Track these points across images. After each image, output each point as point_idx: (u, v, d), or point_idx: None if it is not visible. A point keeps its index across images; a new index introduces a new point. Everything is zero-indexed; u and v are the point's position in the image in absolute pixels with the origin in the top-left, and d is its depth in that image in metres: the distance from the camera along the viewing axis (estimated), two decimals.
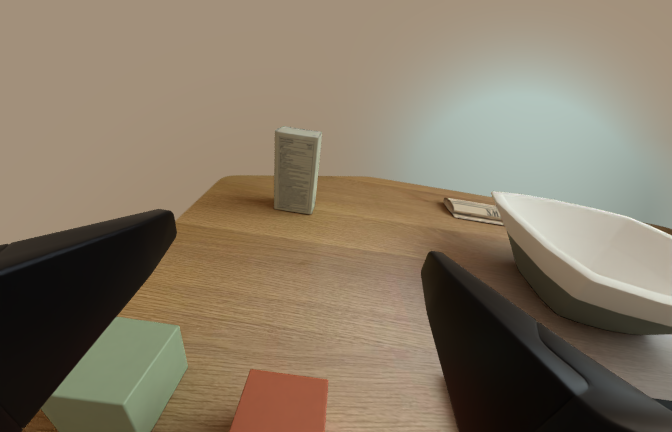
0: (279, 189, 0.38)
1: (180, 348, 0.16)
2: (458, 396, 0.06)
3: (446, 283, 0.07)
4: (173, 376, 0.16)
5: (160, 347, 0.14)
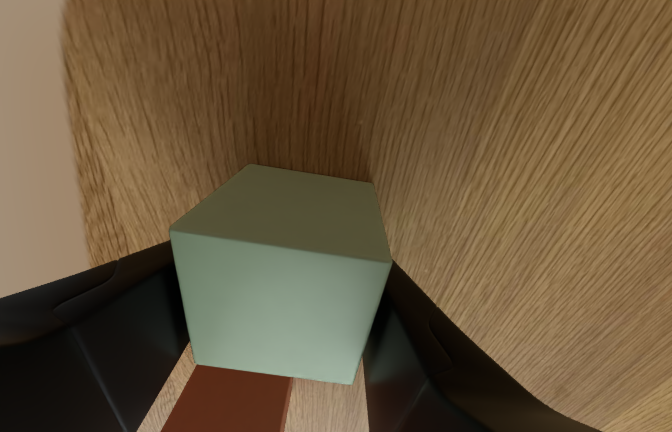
0: None
1: None
2: (369, 384, 0.06)
3: None
4: None
5: (299, 375, 0.07)
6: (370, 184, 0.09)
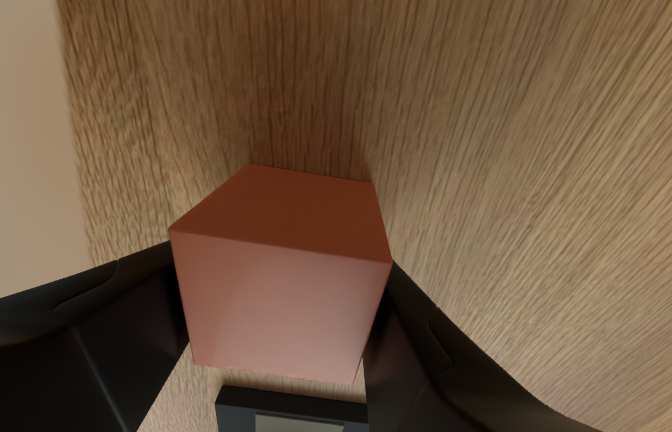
0: None
1: None
2: (369, 384, 0.06)
3: None
4: None
5: None
6: None
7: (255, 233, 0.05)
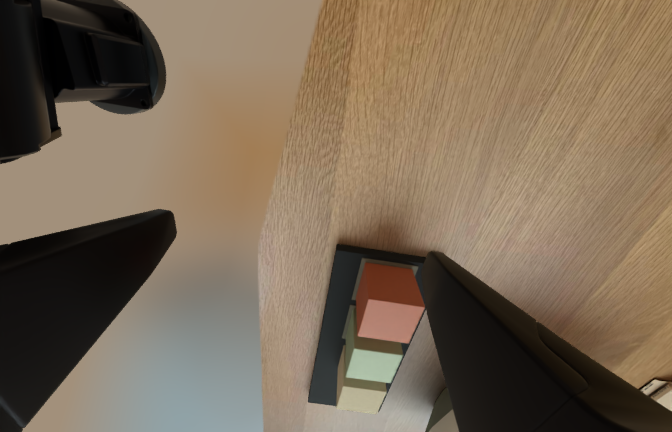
0: None
1: None
2: (458, 396, 0.06)
3: (446, 283, 0.07)
4: None
5: (375, 380, 0.24)
6: None
7: (389, 299, 0.19)
